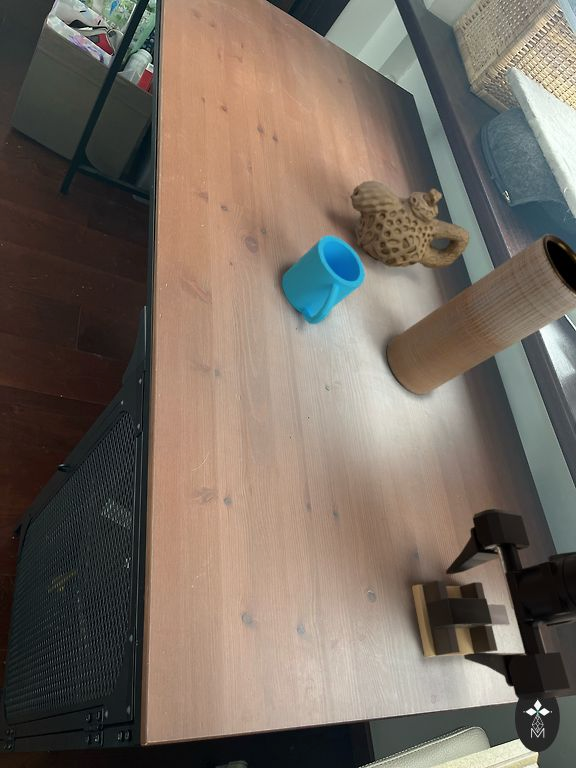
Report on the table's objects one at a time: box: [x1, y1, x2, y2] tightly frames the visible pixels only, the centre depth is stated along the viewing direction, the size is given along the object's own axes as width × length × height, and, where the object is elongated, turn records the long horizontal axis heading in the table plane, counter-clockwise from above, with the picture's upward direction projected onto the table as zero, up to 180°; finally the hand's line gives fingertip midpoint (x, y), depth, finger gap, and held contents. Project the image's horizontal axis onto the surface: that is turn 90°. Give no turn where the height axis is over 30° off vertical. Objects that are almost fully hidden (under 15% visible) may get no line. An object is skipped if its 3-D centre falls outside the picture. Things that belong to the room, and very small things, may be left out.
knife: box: [426, 598, 511, 629], centre depth 73 cm, size 14×3×3 cm, turn 97°
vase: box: [386, 233, 576, 396], centre depth 86 cm, size 10×10×28 cm
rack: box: [411, 580, 498, 658], centre depth 75 cm, size 10×8×4 cm
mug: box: [281, 235, 366, 325], centre depth 85 cm, size 12×8×8 cm
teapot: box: [349, 180, 470, 269], centre depth 100 cm, size 21×12×15 cm, turn 81°
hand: (457, 613), depth 71 cm, fingers open, 9 cm apart
